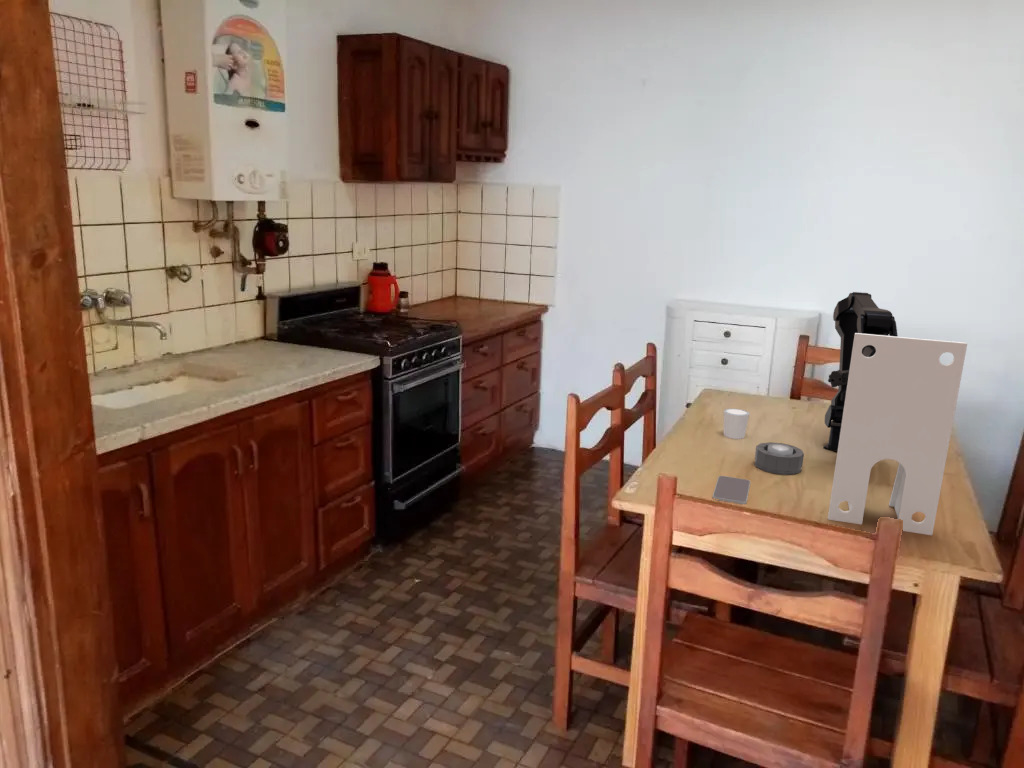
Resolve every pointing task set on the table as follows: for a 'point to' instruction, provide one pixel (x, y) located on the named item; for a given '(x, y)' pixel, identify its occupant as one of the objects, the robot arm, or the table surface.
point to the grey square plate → (732, 489)
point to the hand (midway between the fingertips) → (860, 424)
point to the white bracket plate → (897, 425)
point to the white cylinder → (735, 423)
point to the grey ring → (778, 460)
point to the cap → (780, 449)
